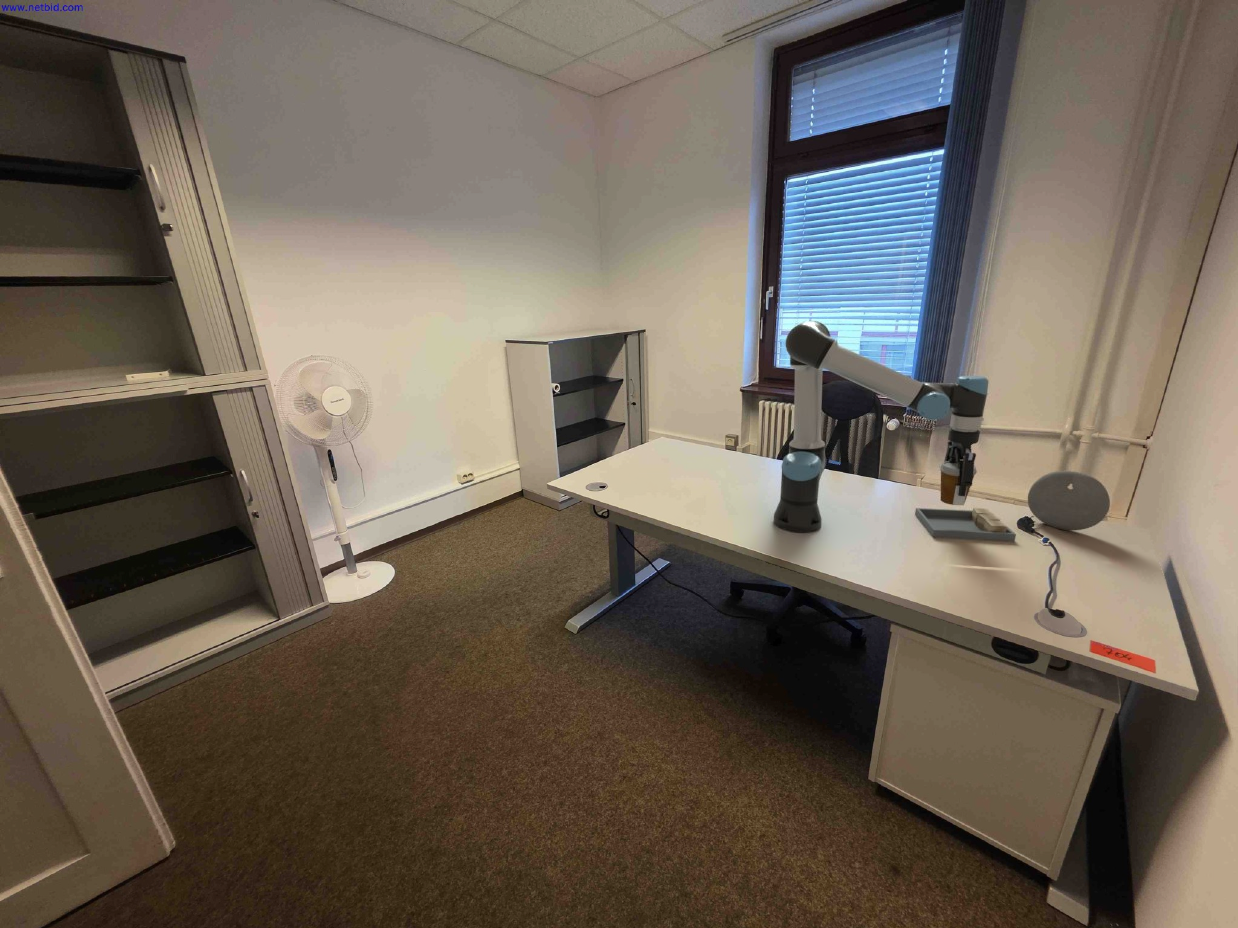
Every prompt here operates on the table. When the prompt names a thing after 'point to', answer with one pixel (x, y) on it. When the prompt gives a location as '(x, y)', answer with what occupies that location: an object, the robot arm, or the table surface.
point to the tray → (957, 525)
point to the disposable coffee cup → (950, 481)
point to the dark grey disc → (1068, 500)
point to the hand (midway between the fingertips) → (952, 499)
